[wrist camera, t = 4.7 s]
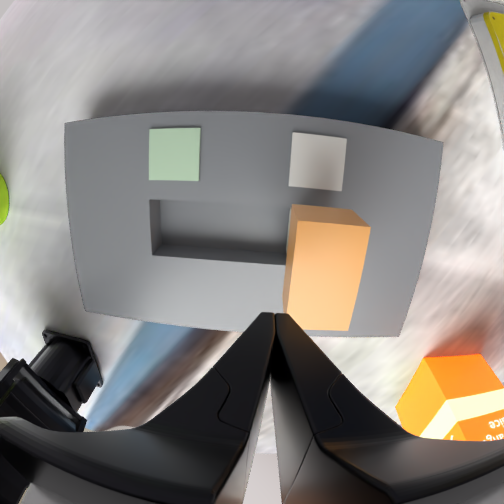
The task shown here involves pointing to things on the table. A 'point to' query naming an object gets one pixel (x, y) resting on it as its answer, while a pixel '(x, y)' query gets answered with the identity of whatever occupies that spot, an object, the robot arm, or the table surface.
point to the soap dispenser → (3, 200)
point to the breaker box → (239, 212)
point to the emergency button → (489, 45)
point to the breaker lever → (323, 266)
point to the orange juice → (454, 400)
